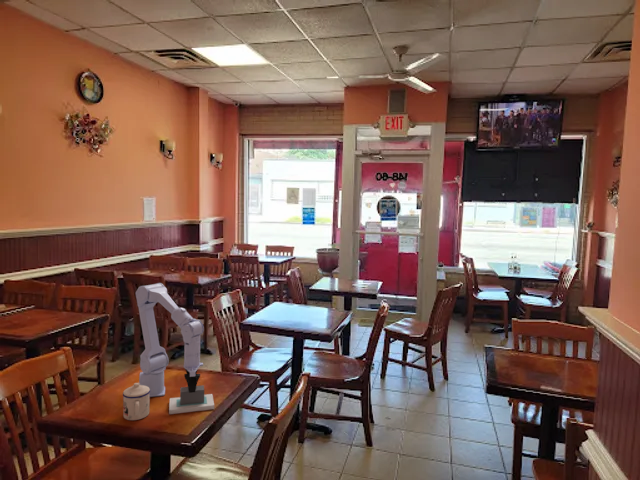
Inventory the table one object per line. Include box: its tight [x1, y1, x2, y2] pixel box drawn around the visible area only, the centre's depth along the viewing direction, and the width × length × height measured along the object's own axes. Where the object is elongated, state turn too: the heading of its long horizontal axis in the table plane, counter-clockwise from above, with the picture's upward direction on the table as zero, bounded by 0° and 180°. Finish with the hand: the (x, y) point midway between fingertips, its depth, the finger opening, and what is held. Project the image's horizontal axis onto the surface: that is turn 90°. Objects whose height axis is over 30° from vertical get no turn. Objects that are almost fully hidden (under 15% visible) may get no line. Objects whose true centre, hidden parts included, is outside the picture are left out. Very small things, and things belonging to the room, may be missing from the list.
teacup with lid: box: [122, 382, 150, 421], centre depth 152 cm, size 12×9×12 cm
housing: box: [179, 384, 205, 405], centre depth 162 cm, size 9×4×5 cm, turn 108°
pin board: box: [168, 393, 215, 415], centre depth 162 cm, size 16×10×5 cm, turn 108°
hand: (191, 387), depth 162 cm, fingers open, 7 cm apart
